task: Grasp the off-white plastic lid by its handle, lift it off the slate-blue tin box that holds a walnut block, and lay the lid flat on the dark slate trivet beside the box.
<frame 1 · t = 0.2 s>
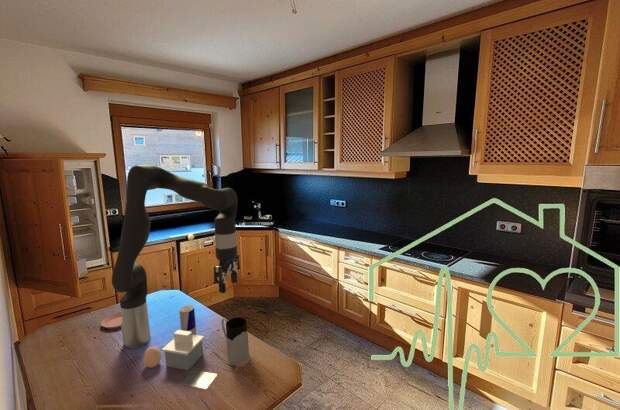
hand: (228, 287, 111), 28 cm above the table, fingers open, 8 cm apart
beverage can: (189, 342, 127), on the table
glass holder: (234, 356, 117), on the table
tin box: (185, 361, 115), on the table
lid: (183, 344, 113), point 7 cm above the table, touching tin box
walnut block: (185, 359, 115), point 1 cm above the table, touching tin box
plate: (119, 322, 143), on the table
slate trivet: (199, 380, 105), on the table
egg: (153, 366, 112), on the table
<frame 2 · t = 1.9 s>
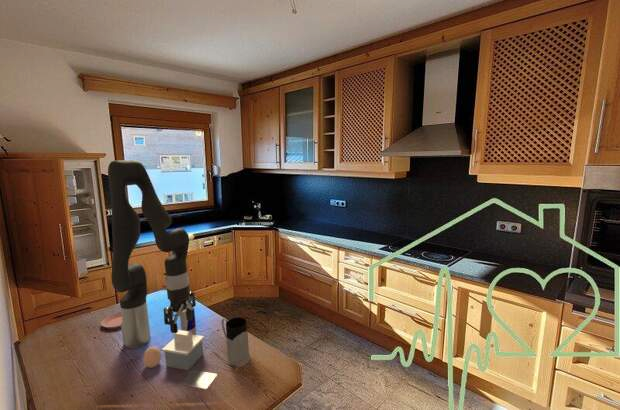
hand: (182, 326, 112), 14 cm above the table, fingers open, 8 cm apart
nothing on the table moved.
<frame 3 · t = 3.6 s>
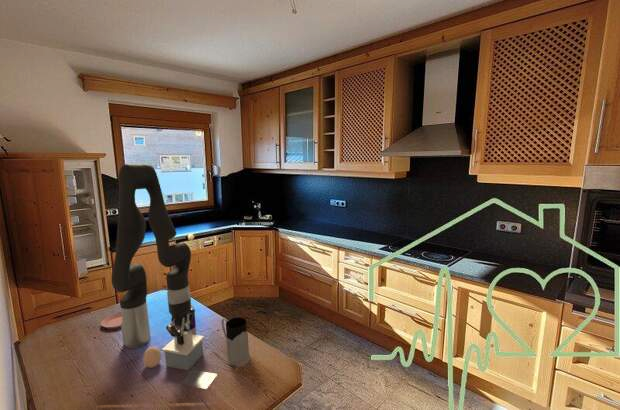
hand: (183, 341, 113), 8 cm above the table, fingers closed on lid, 2 cm apart
lid: (183, 344, 113), point 7 cm above the table, touching gripper, tin box
everything else where it was.
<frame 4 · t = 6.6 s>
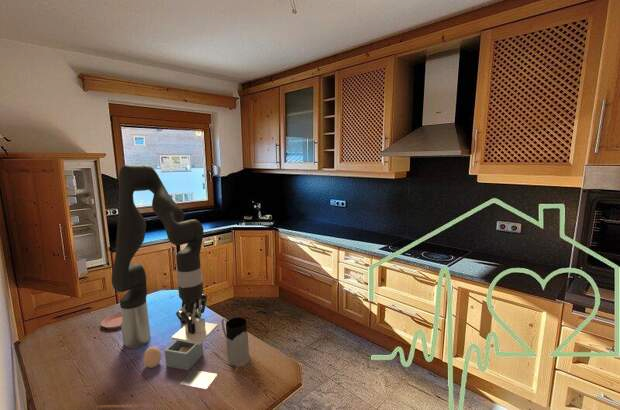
hand: (194, 330, 102), 19 cm above the table, fingers closed on lid, 2 cm apart
lid: (195, 332, 102), point 18 cm above the table, touching gripper
everything else where it was.
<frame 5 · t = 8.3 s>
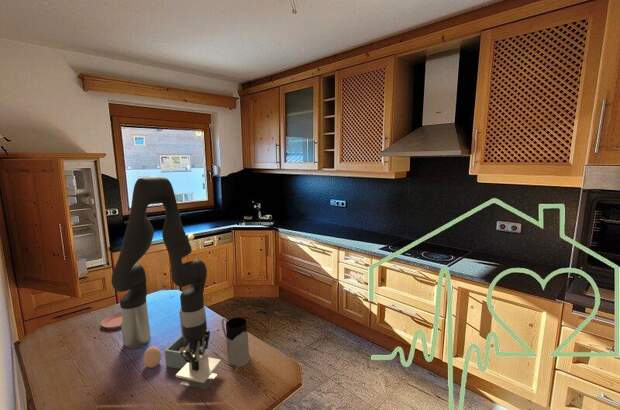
hand: (198, 366, 104), 5 cm above the table, fingers closed on lid, 2 cm apart
lid: (199, 369, 104), point 4 cm above the table, touching gripper
everything else where it was.
when the fingers open (3 cm above the table, at t = 9.4 s): lid drops 2 cm, resting on slate trivet.
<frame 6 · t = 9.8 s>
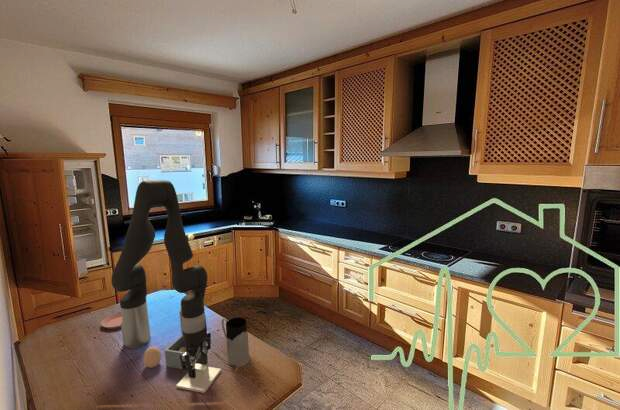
hand: (198, 370, 104), 4 cm above the table, fingers open, 6 cm apart
lid: (199, 378, 105), point 1 cm above the table, touching slate trivet
everything else where it was.
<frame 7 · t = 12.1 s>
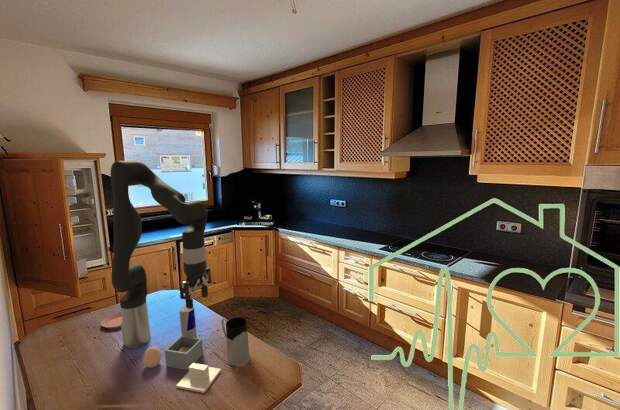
hand: (197, 302, 109), 25 cm above the table, fingers open, 8 cm apart
nothing on the table moved.
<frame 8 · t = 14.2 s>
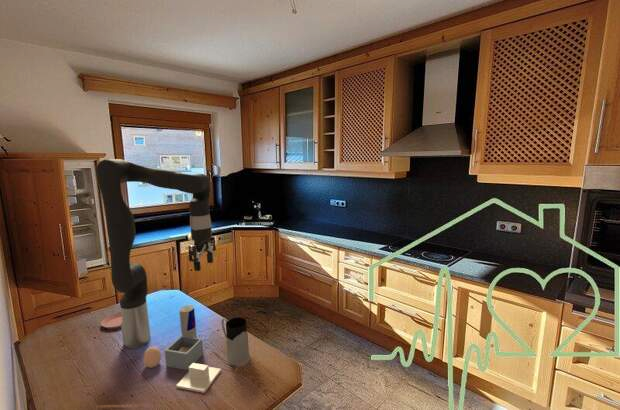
hand: (204, 266, 120), 33 cm above the table, fingers open, 8 cm apart
nothing on the table moved.
at the end: lid inside the target area on the slate trivet (0.1 cm from its centre), point 0.6 cm above the slate trivet's base; lid tilted 0°; lid touching slate trivet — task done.
